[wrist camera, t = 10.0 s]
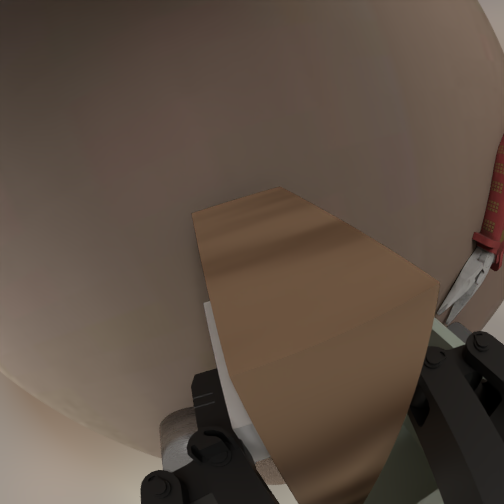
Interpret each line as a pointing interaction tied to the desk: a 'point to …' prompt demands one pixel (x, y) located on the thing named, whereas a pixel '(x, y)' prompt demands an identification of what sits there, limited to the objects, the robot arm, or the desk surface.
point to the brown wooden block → (315, 337)
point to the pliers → (482, 245)
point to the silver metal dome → (177, 438)
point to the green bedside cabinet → (411, 453)
